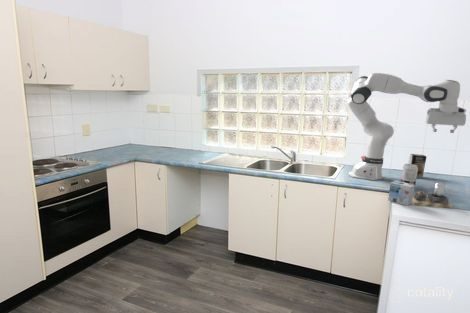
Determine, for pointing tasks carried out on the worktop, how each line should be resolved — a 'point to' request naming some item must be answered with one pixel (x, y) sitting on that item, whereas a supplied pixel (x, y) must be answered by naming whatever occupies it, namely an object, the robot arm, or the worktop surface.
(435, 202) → the manifold plate
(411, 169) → the supplement can
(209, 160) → the worktop surface
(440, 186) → the pipe fitting
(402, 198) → the light bulb box
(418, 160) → the coffee box
